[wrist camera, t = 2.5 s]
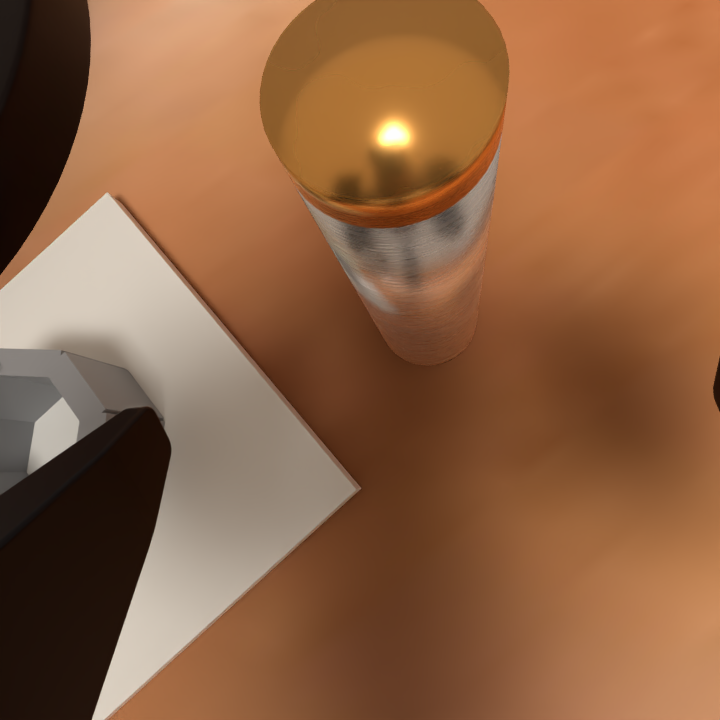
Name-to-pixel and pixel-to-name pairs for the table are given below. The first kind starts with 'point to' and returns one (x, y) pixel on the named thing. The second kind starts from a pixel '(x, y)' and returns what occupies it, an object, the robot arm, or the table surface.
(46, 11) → the wall clock
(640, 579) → the table surface
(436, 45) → the gold topped patterned cylinder
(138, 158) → the table surface
